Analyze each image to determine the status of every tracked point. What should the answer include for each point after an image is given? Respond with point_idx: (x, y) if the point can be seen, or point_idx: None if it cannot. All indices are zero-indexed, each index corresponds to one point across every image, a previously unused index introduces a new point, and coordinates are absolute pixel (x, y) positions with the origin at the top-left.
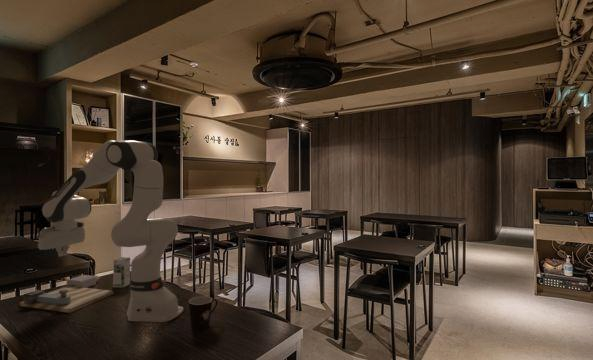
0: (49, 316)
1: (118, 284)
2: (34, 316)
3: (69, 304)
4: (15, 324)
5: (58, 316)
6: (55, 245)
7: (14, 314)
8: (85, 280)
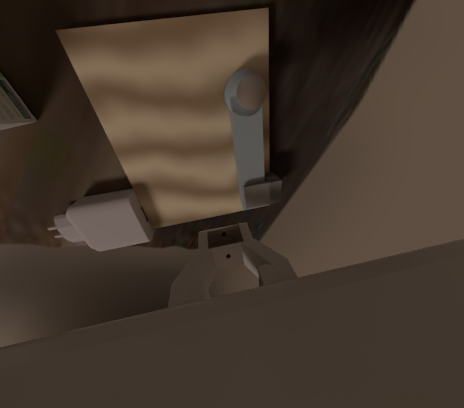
0: (298, 59)
1: (4, 91)
2: (305, 104)
3: (239, 64)
4: (349, 95)
5: (294, 25)
6: (397, 281)
7: (303, 162)
8: (111, 202)
